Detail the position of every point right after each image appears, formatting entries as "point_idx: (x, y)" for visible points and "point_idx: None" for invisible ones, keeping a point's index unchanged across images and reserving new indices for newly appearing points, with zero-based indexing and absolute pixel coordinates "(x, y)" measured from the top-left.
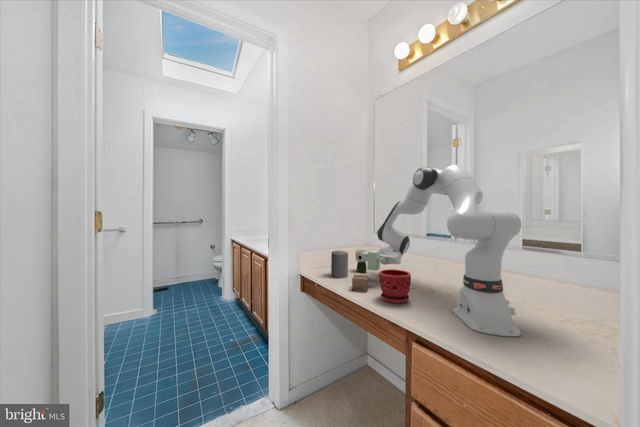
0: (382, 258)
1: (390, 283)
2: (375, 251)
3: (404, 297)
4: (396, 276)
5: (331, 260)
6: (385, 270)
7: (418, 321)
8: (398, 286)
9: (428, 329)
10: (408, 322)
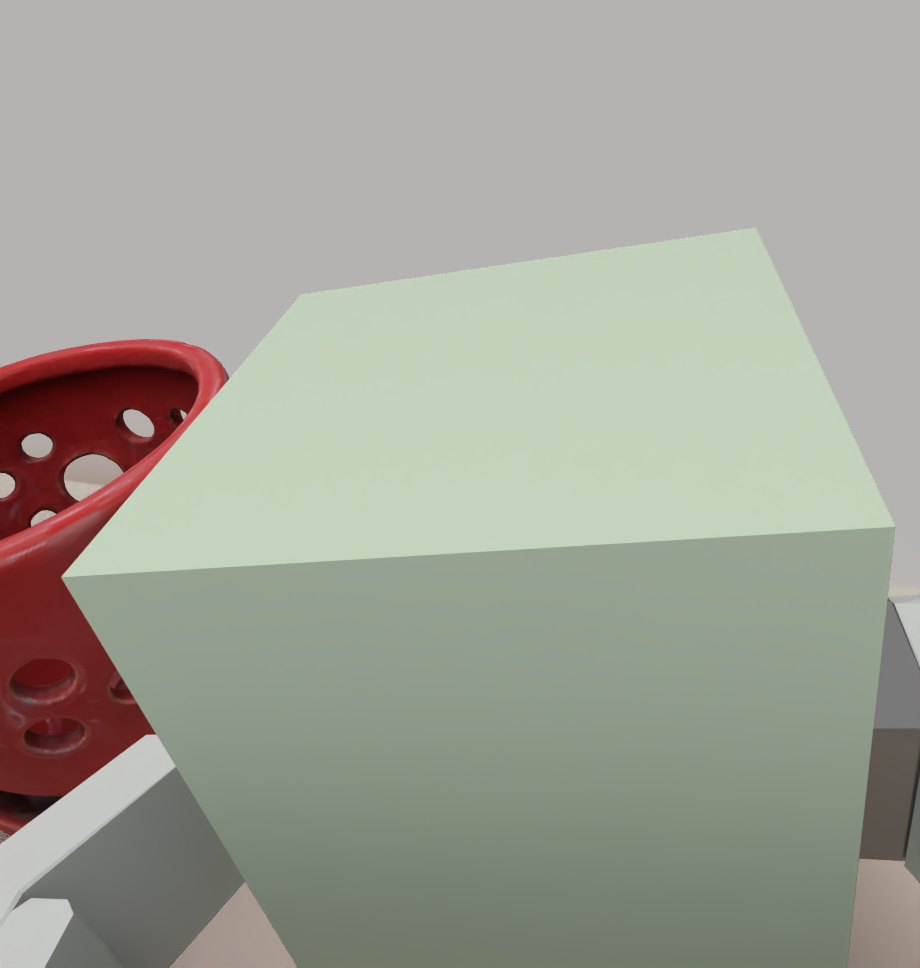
0: (94, 787)
1: (121, 423)
2: (406, 458)
3: (34, 661)
4: (15, 367)
5: None
6: (130, 471)
7: (35, 521)
8: (47, 470)
9: (7, 491)
10: (101, 486)
